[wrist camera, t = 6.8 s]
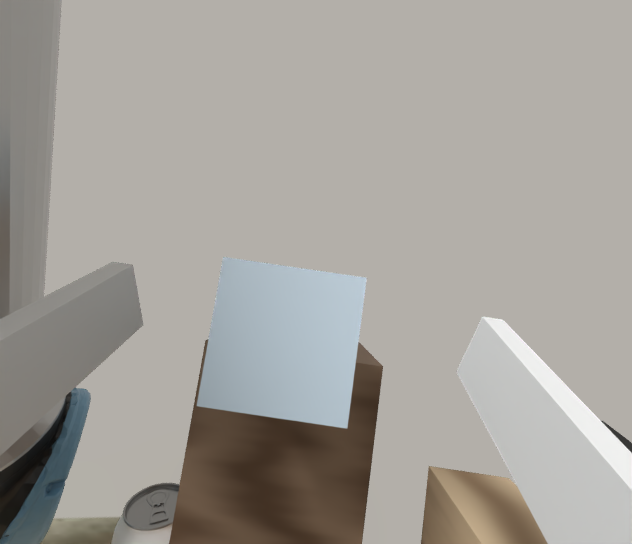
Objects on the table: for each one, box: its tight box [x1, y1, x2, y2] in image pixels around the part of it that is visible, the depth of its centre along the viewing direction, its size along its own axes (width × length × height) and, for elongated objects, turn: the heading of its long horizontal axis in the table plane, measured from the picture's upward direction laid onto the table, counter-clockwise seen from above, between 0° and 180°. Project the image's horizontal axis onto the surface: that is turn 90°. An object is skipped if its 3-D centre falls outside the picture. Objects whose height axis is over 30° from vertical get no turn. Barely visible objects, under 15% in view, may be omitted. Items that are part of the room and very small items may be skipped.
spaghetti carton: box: [197, 257, 367, 429], centre depth 18 cm, size 22×4×4 cm, turn 0°
